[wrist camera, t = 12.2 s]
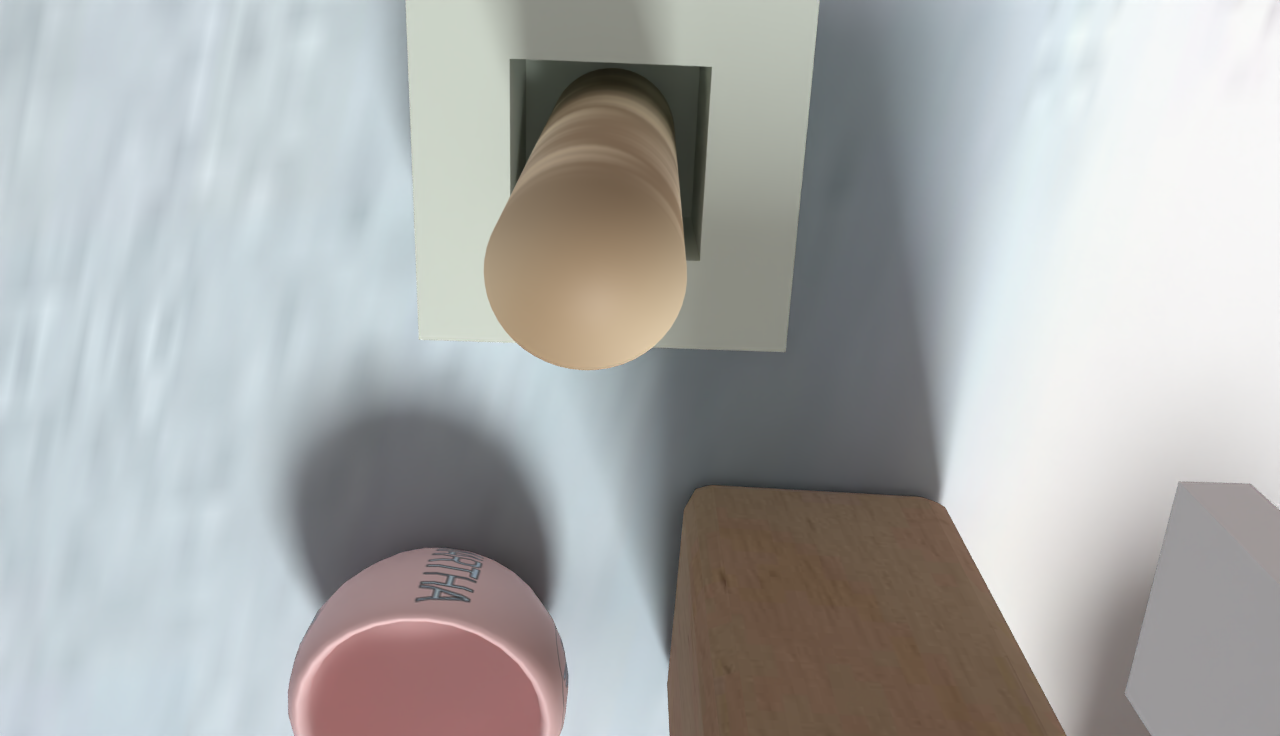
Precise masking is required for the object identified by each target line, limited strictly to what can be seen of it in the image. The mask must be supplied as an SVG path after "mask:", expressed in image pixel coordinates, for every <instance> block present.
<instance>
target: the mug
mask: <svg viewBox="0 0 1280 736" xmlns="http://www.w3.org/2000/svg"><path fill="white" fill-rule="evenodd" d="M567 694H568V670H567V664H566V658H565V652H564V648H563V643H562V640H561V638H560V635H559V633H558V631H557V628H556V626H555V623H554V621H553V619H552V618H551V616H550V614H549V613H548V611H547V610H546V608H545V607H544V605H543V604H542V603H541V601H540V600H539V599H538V597H537V596H536V594H535V593H534V592H533V590H532V589H531V587H530V586H529V585H527V584H526V583H525V582H524V581H523V580H522V579H521V578H520V577H519V576H517V575H516V574H515V573H514V572H513V571H511V570H509V569H508V568H506V567H504V566H503V565H501V564H499V563H498V562H496V561H494V560H492V559H489V558H487V557H484V556H481V555H479V554H476V553H473V552H469V551H464V550H458V549H452V548H421V549H416V550H411V551H405V552H401V553H398V554H396V555H393V556H391V557H388V558H386V559H383V560H381V561H379V562H377V563H375V564H373V565H371V566H370V567H368V568H366V569H364V570H363V571H361V572H360V573H358V574H357V575H355V576H354V577H352V578H351V579H349V580H348V581H346V582H345V583H343V584H342V585H341V587H340V588H339V589H338V590H337V591H336V592H335V593H334V594H333V595H332V596H331V597H330V598H329V599H328V600H327V601H326V603H325V604H324V605H323V606H322V607H321V608H320V609H319V610H318V612H317V614H316V615H315V617H314V619H313V621H312V623H311V624H310V626H309V628H308V630H307V632H306V634H305V636H304V637H303V639H302V641H301V643H300V646H299V649H298V651H297V654H296V657H295V661H294V665H293V669H292V673H291V677H290V682H289V689H288V714H289V719H290V722H291V726H292V729H293V733H294V736H560V733H561V730H562V728H563V724H564V719H565V713H566V704H567Z"/></svg>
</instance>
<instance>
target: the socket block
mask: <svg viewBox="0 0 1280 736" xmlns="http://www.w3.org/2000/svg"><path fill="white" fill-rule="evenodd" d="M405 1H406V26H407V52H408V77H409V102H410V127H411V153H412V178H413V203H414V228H415V253H416V279H417V304H418V329H419V340H445V341H474V342H503V343H516V342H515V341H514V340H513V339H512V338H511V337H510V336H509V335H508V334H507V332H506V331H505V330H504V329H503V327H502V326H501V324H500V323H499V322H498V320H497V318H496V316H495V314H494V312H493V310H492V308H491V305H490V303H489V300H488V297H487V293H486V288H485V282H484V259H485V253H486V248H487V245H488V242H489V239H490V236H491V234H492V232H493V230H494V228H495V226H496V224H497V222H498V220H499V218H500V216H501V214H502V212H503V210H504V208H505V206H506V204H507V202H508V199H509V197H510V195H511V193H512V191H513V189H514V187H515V185H516V183H517V181H518V179H519V177H520V175H521V173H522V171H523V169H524V167H525V165H526V163H527V161H528V159H529V157H530V155H531V153H532V151H533V149H534V147H535V145H536V143H537V141H538V139H539V137H540V135H541V133H542V131H543V129H544V127H545V125H546V123H547V121H548V119H549V117H550V115H551V113H552V111H553V109H554V107H555V105H556V103H557V101H558V99H559V97H560V96H561V94H562V93H563V91H564V90H565V89H566V88H567V87H568V86H569V85H570V84H571V83H572V82H573V81H575V80H576V79H577V78H579V77H581V76H582V75H584V74H586V73H589V72H591V71H595V70H598V69H604V68H619V69H625V70H629V71H632V72H635V73H637V74H639V75H641V76H643V77H645V78H646V79H647V80H649V81H650V82H652V83H653V84H654V85H655V86H656V87H657V88H658V89H659V91H660V92H661V93H662V94H663V96H664V97H665V99H666V101H667V103H668V105H669V107H670V110H671V113H672V116H673V122H674V130H675V142H676V153H677V164H678V175H679V186H680V197H681V209H682V220H683V231H684V242H685V253H686V264H687V284H686V292H685V296H684V300H683V304H682V307H681V309H680V311H679V314H678V316H677V318H676V320H675V321H674V323H673V325H672V326H671V328H670V329H669V331H668V332H667V333H666V334H665V336H664V337H663V338H662V339H661V340H660V341H659V342H658V343H657V344H656V345H655V346H654V347H652V348H677V349H706V350H735V351H764V352H786V342H787V332H788V322H789V311H790V301H791V291H792V281H793V270H794V260H795V250H796V239H797V229H798V219H799V208H800V198H801V188H802V177H803V167H804V157H805V147H806V136H807V126H808V116H809V105H810V95H811V85H812V74H813V64H814V54H815V43H816V33H817V23H818V13H819V2H820V0H405Z"/></svg>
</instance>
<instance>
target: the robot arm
mask: <svg viewBox="0 0 1280 736" xmlns="http://www.w3.org/2000/svg"><path fill="white" fill-rule="evenodd" d="M1125 695H1126V697H1127V698H1128V700H1129V702H1130V703H1131V705H1132V706H1133V708H1134V709H1135V711H1136V713H1137V714H1138V716H1139V717H1140V719H1141V720H1142V722H1143V724H1144V725H1145V727H1146V728H1147V730H1148V731H1149V733H1150V734H1151V736H1280V510H1279V509H1278V508H1277V507H1275V506H1274V505H1273V504H1272V503H1271V502H1270V501H1269V500H1268V499H1267V498H1266V497H1265V496H1263V495H1262V494H1261V493H1260V492H1259V491H1258V490H1257V489H1256V488H1255V487H1254V486H1252V485H1251V484H1242V483H1210V482H1179V483H1178V487H1177V491H1176V495H1175V498H1174V502H1173V506H1172V510H1171V514H1170V518H1169V522H1168V526H1167V530H1166V534H1165V538H1164V542H1163V545H1162V549H1161V553H1160V557H1159V561H1158V565H1157V569H1156V573H1155V577H1154V581H1153V585H1152V589H1151V592H1150V596H1149V600H1148V604H1147V608H1146V612H1145V616H1144V620H1143V624H1142V628H1141V632H1140V636H1139V639H1138V643H1137V647H1136V651H1135V655H1134V659H1133V663H1132V667H1131V671H1130V675H1129V679H1128V683H1127V686H1126V690H1125Z"/></svg>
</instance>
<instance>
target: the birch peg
mask: <svg viewBox="0 0 1280 736" xmlns="http://www.w3.org/2000/svg"><path fill="white" fill-rule="evenodd" d="M484 282H485V288H486V293H487V297H488V300H489V303H490V305H491V308H492V310H493V312H494V314H495V316H496V318H497V320H498V322H499V323H500V324H501V326H502V327H503V329H504V330H505V331H506V332H507V334H508V335H509V336H510V337H511V338H512V339H513V340H514V341H515V342H516V343H517V344H519V345H520V346H521V347H522V348H523V349H525V350H526V351H528V352H529V353H531V354H532V355H534V356H536V357H538V358H540V359H542V360H544V361H546V362H548V363H551V364H554V365H557V366H560V367H565V368H569V369H578V370H599V369H605V368H611V367H615V366H618V365H622V364H624V363H627V362H629V361H631V360H634V359H635V358H637V357H639V356H641V355H643V354H644V353H646V352H647V351H648V350H650V349H651V348H652V347H654V346H655V345H656V344H657V343H658V342H659V341H660V340H661V339H662V338H663V337H664V336H665V334H666V333H667V332H668V331H669V329H670V328H671V326H672V325H673V323H674V321H675V320H676V318H677V316H678V314H679V311H680V309H681V307H682V304H683V300H684V296H685V292H686V284H687V264H686V253H685V242H684V231H683V220H682V209H681V197H680V186H679V175H678V164H677V153H676V142H675V130H674V122H673V116H672V113H671V110H670V107H669V105H668V103H667V101H666V99H665V97H664V96H663V94H662V93H661V92H660V91H659V89H658V88H657V87H656V86H655V85H654V84H653V83H652V82H650V81H649V80H647V79H646V78H645V77H643V76H641V75H639V74H637V73H635V72H632V71H629V70H625V69H619V68H604V69H598V70H595V71H591V72H589V73H586V74H584V75H582V76H581V77H579V78H577V79H576V80H575V81H573V82H572V83H571V84H570V85H569V86H568V87H567V88H566V89H565V90H564V91H563V93H562V94H561V96H560V97H559V99H558V101H557V103H556V105H555V107H554V109H553V111H552V113H551V115H550V117H549V119H548V121H547V123H546V125H545V127H544V129H543V131H542V133H541V135H540V137H539V139H538V141H537V143H536V145H535V147H534V149H533V151H532V153H531V155H530V157H529V159H528V161H527V163H526V165H525V167H524V169H523V171H522V173H521V175H520V177H519V179H518V181H517V183H516V185H515V187H514V189H513V191H512V193H511V195H510V197H509V199H508V202H507V204H506V206H505V208H504V210H503V212H502V214H501V216H500V218H499V220H498V222H497V224H496V226H495V228H494V230H493V232H492V234H491V236H490V239H489V242H488V245H487V248H486V253H485V259H484Z"/></svg>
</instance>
